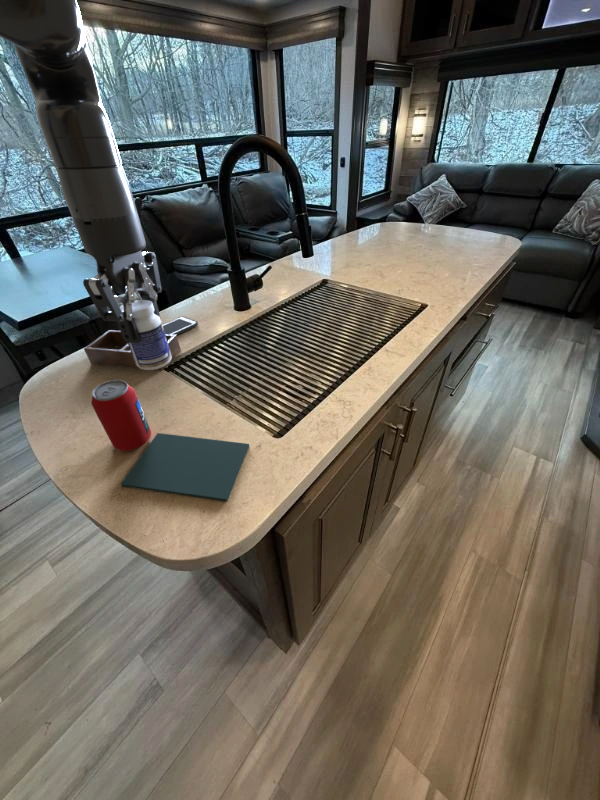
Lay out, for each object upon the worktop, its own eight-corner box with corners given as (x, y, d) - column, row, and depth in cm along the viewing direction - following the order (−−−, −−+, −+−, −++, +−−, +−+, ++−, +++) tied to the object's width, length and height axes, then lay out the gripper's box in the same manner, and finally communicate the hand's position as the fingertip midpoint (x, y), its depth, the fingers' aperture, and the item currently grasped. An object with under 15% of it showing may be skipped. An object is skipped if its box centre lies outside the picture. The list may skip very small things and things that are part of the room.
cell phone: (199, 324, 100) (199, 321, 99) (158, 344, 91) (157, 341, 90) (183, 318, 103) (182, 315, 103) (141, 337, 94) (140, 333, 94)
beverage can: (160, 432, 63) (140, 381, 56) (135, 457, 58) (110, 405, 51) (131, 425, 65) (109, 374, 58) (105, 448, 60) (77, 396, 53)
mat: (121, 486, 54) (120, 484, 53) (158, 435, 63) (157, 432, 63) (227, 501, 51) (226, 499, 51) (249, 446, 60) (249, 443, 60)
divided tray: (91, 364, 83) (83, 348, 81) (115, 344, 91) (109, 329, 88) (162, 370, 81) (157, 354, 78) (180, 350, 88) (176, 334, 86)
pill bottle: (179, 358, 56) (164, 302, 50) (152, 375, 52) (131, 315, 46) (156, 350, 59) (139, 295, 52) (129, 365, 55) (106, 307, 49)
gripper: (111, 201, 48) (146, 312, 58) (33, 221, 37) (94, 353, 47) (159, 202, 47) (186, 315, 57) (95, 222, 36) (143, 357, 46)
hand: (144, 332), depth 52 cm, fingers closed on pill bottle, 5 cm apart
